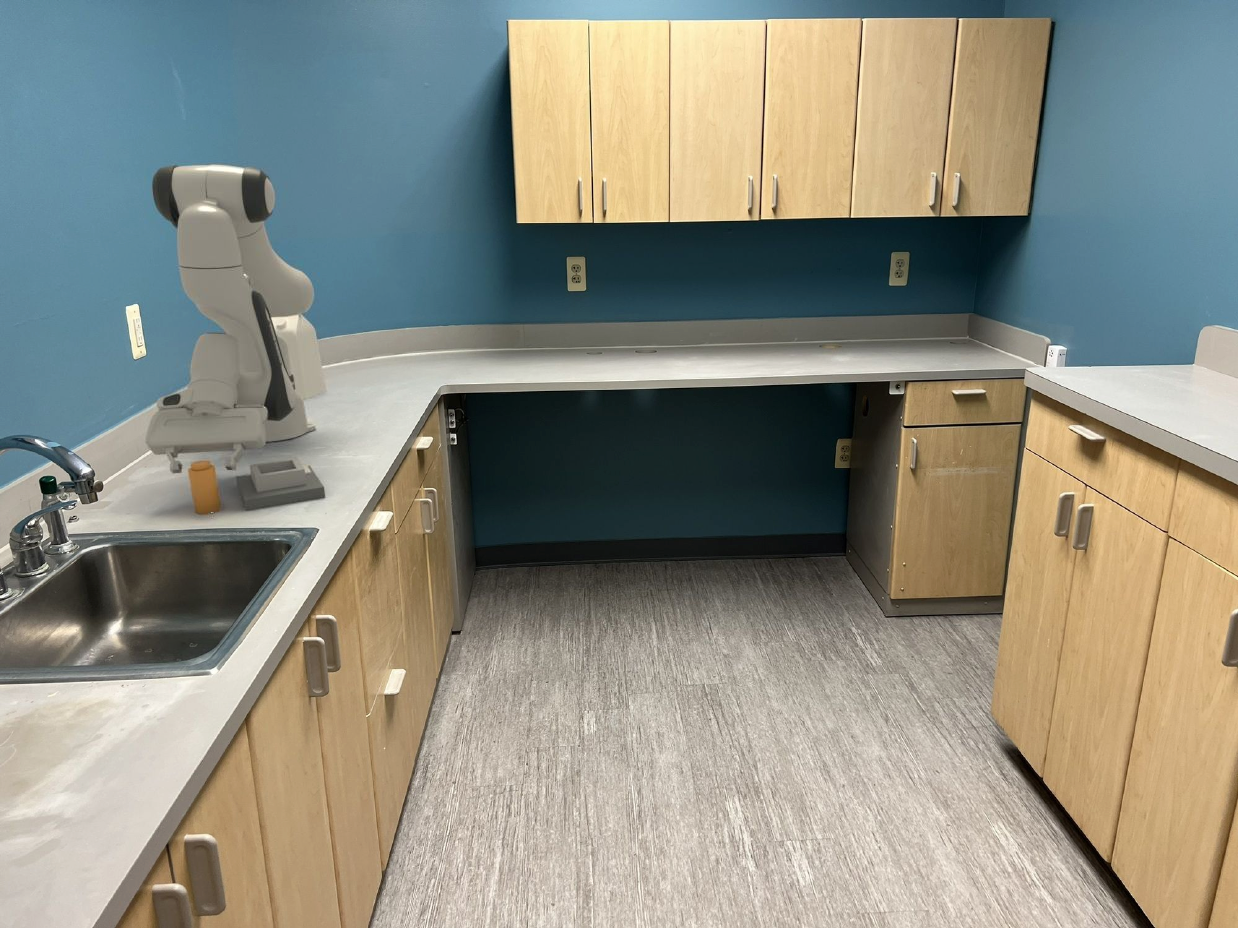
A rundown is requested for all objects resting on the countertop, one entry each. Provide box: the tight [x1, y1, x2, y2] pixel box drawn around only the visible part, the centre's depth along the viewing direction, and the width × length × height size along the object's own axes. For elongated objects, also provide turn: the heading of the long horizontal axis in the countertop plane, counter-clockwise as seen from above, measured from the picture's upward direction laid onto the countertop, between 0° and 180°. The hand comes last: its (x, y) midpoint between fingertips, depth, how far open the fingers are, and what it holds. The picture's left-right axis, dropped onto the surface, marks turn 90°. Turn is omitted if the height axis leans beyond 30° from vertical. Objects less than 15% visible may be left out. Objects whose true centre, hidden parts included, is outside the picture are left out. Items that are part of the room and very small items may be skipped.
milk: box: [271, 313, 327, 401], centre depth 248 cm, size 12×12×26 cm
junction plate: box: [235, 457, 326, 511], centre depth 166 cm, size 16×14×5 cm
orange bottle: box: [187, 460, 222, 515], centre depth 157 cm, size 4×4×9 cm
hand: (203, 470), depth 156 cm, fingers open, 8 cm apart
